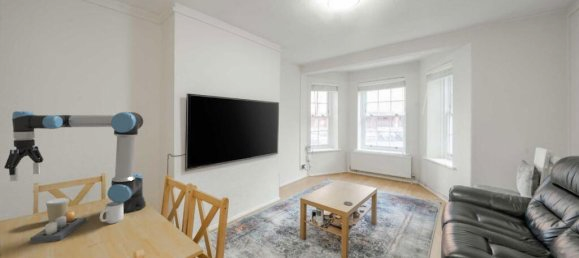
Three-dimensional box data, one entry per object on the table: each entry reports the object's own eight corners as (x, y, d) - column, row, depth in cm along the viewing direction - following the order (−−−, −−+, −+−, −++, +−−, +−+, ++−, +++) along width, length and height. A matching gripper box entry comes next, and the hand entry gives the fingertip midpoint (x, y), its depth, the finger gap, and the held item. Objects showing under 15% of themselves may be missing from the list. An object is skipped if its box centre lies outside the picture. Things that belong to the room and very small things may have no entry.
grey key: (68, 225, 122) (68, 216, 122) (62, 228, 118) (62, 219, 118) (59, 225, 121) (59, 216, 121) (53, 229, 117) (53, 220, 117)
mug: (104, 228, 124) (103, 210, 124) (95, 225, 127) (94, 207, 127) (126, 219, 135) (126, 202, 135) (118, 216, 139) (117, 200, 138)
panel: (86, 221, 131) (86, 217, 131) (60, 240, 112) (60, 235, 111) (61, 223, 128) (61, 218, 128) (30, 242, 109) (30, 237, 109)
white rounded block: (59, 231, 116) (58, 221, 116) (53, 235, 112) (52, 225, 112) (49, 231, 115) (49, 222, 115) (43, 235, 111) (43, 226, 111)
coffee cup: (74, 217, 135) (73, 198, 135) (56, 225, 126) (56, 204, 125) (60, 216, 136) (59, 197, 136) (42, 223, 127) (41, 203, 126)
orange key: (76, 219, 128) (76, 211, 128) (71, 222, 125) (71, 214, 124) (68, 220, 128) (67, 211, 127) (62, 223, 124) (62, 214, 123)
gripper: (35, 136, 135) (37, 171, 136) (-9, 142, 110) (-7, 184, 112) (50, 137, 136) (52, 171, 138) (10, 142, 112) (12, 183, 113)
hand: (26, 177), depth 125 cm, fingers open, 13 cm apart
